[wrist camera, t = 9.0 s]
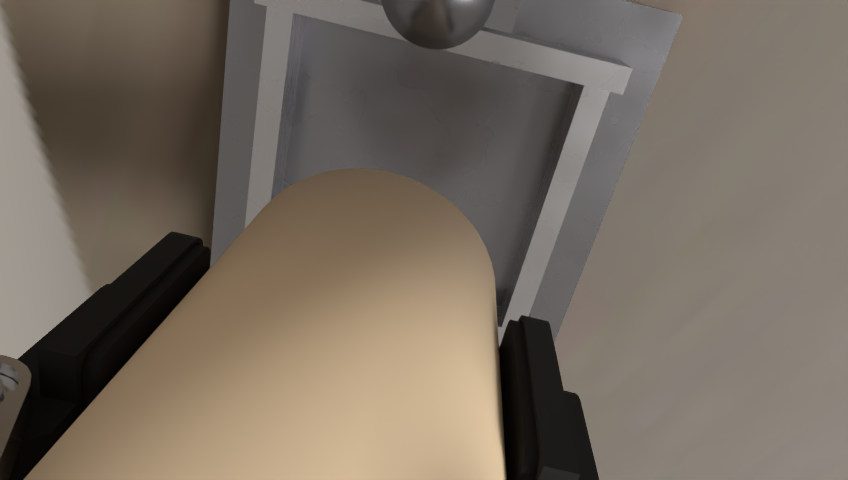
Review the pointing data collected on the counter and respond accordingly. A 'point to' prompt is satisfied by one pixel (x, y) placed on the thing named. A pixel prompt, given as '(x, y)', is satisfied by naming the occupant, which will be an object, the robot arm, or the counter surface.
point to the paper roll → (315, 352)
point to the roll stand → (447, 117)
